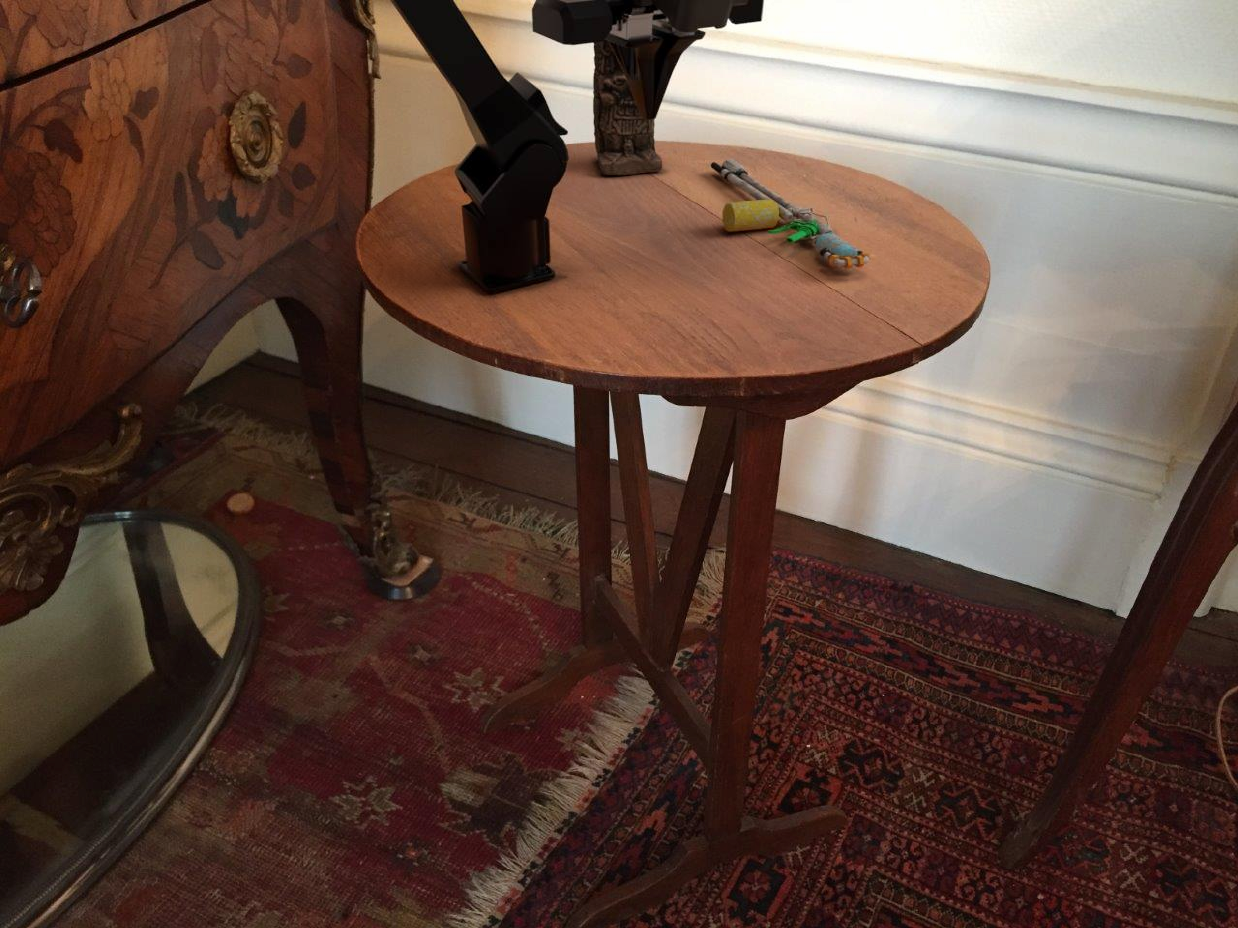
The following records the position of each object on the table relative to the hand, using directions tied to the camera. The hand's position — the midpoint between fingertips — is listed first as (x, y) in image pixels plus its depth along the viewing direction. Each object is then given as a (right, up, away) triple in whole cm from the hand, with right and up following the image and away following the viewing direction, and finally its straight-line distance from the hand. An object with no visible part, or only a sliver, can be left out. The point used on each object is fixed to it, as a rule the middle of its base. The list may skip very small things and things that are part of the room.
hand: (648, 118), depth 81 cm
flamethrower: (+12, -6, +13) cm, 19 cm away
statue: (-2, +4, +26) cm, 27 cm away
